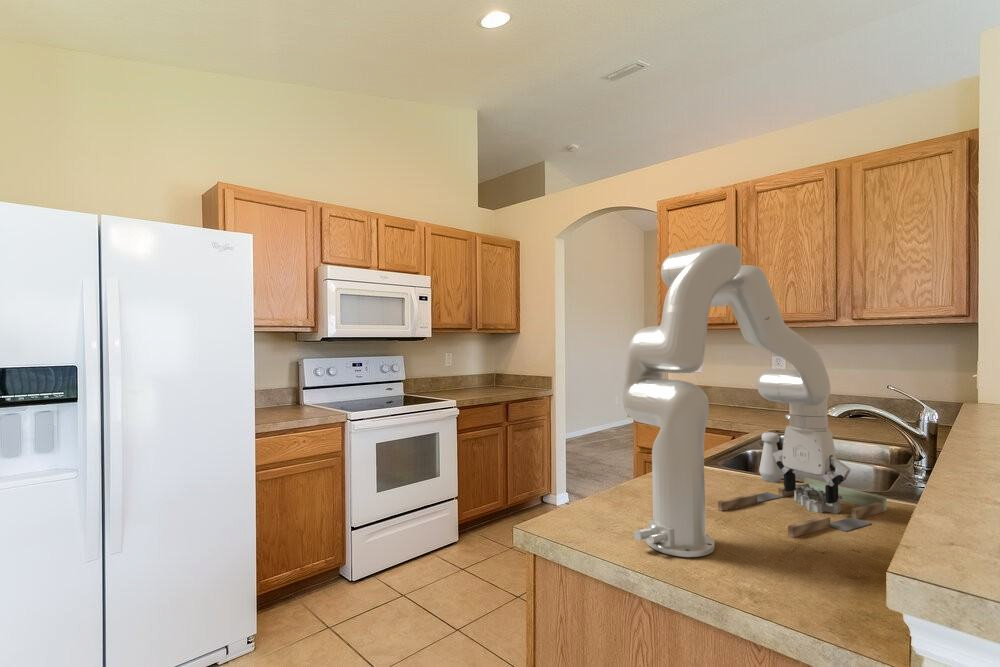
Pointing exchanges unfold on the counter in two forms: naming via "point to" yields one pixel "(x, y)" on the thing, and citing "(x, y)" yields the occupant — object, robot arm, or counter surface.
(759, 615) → the counter surface
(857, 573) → the counter surface
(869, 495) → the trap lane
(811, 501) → the egg carton
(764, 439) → the salt shaker
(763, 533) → the counter surface
